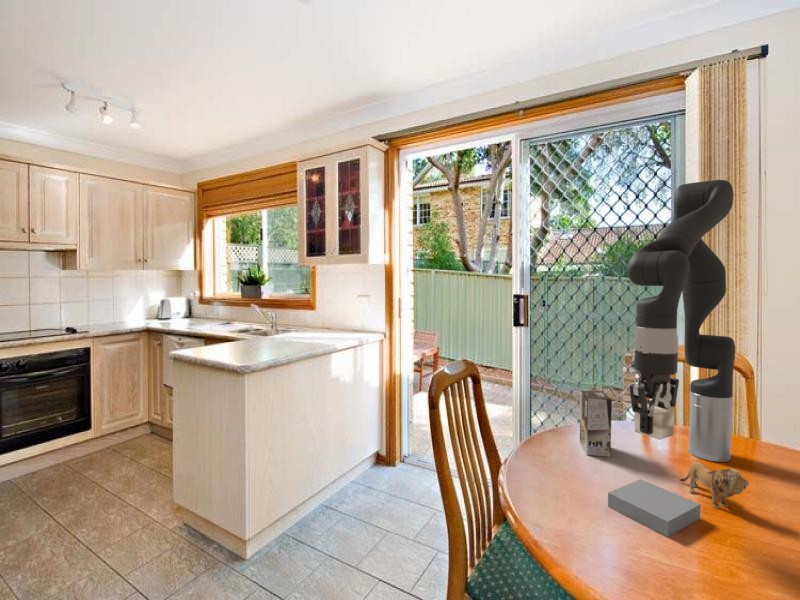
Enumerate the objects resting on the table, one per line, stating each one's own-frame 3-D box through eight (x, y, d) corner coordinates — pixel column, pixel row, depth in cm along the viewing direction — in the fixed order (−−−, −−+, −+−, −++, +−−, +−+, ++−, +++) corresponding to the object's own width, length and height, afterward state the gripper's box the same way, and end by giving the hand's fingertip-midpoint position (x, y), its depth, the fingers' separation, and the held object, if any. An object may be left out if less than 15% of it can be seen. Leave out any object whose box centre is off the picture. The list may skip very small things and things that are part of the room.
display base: (640, 491, 92) (640, 479, 92) (700, 518, 81) (700, 504, 81) (607, 506, 86) (608, 492, 86) (667, 537, 76) (667, 521, 75)
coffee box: (611, 457, 110) (612, 399, 109) (586, 455, 111) (587, 398, 111) (602, 444, 119) (602, 390, 118) (578, 442, 120) (579, 389, 120)
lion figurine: (752, 515, 82) (754, 472, 82) (732, 518, 81) (733, 475, 81) (688, 481, 97) (689, 444, 96) (669, 483, 96) (670, 446, 95)
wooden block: (648, 427, 87) (648, 404, 86) (673, 435, 82) (674, 411, 82) (634, 431, 84) (635, 408, 84) (659, 439, 80) (660, 415, 80)
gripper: (656, 343, 89) (654, 419, 90) (616, 349, 82) (615, 431, 83) (694, 348, 83) (692, 430, 83) (654, 355, 76) (652, 443, 76)
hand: (653, 430), depth 83 cm, fingers closed on wooden block, 5 cm apart
